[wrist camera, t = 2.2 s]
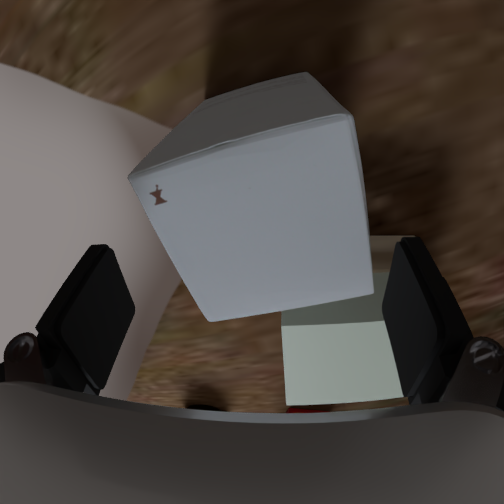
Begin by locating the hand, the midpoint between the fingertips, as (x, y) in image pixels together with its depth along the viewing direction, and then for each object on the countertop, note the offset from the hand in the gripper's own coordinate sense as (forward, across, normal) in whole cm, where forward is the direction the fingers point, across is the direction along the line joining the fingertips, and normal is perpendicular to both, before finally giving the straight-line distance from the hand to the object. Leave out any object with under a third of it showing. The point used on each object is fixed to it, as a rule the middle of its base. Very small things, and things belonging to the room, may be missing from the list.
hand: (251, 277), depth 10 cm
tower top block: (+10, -6, +13) cm, 18 cm away
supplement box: (+14, 0, -1) cm, 14 cm away
